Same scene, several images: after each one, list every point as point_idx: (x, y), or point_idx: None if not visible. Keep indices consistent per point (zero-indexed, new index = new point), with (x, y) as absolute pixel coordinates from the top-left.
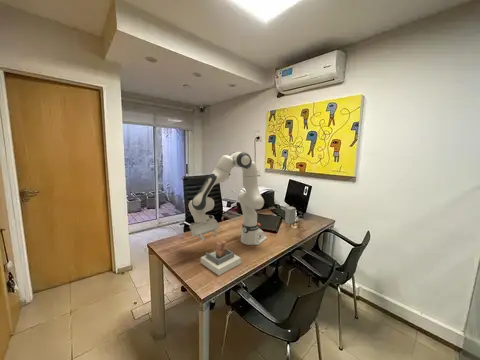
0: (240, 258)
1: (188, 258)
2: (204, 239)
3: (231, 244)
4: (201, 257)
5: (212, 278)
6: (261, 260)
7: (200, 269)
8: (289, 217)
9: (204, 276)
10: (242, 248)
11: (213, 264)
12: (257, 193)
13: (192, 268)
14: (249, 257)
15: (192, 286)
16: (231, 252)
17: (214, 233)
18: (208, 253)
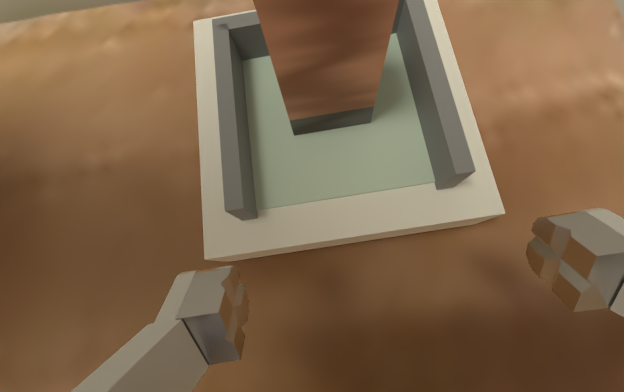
0: (199, 23)
1: (565, 380)
2: (588, 213)
3: (44, 370)
4: (499, 203)
5: (464, 17)
6: (83, 23)
7: (506, 143)
8: None
9: (506, 57)
10: (37, 230)
11: (438, 45)
12: None
13: (566, 189)
14: (110, 88)
15: (612, 10)
16: (228, 36)
17: (183, 387)
18: (453, 135)
